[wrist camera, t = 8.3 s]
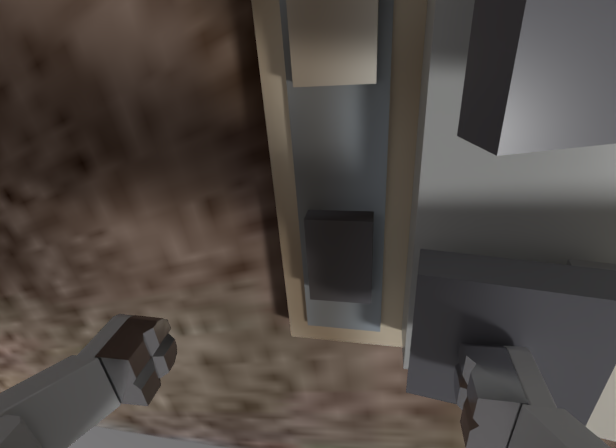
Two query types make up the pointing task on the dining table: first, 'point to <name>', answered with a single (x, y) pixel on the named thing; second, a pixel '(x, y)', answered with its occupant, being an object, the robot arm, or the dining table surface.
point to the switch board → (342, 157)
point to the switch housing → (496, 179)
